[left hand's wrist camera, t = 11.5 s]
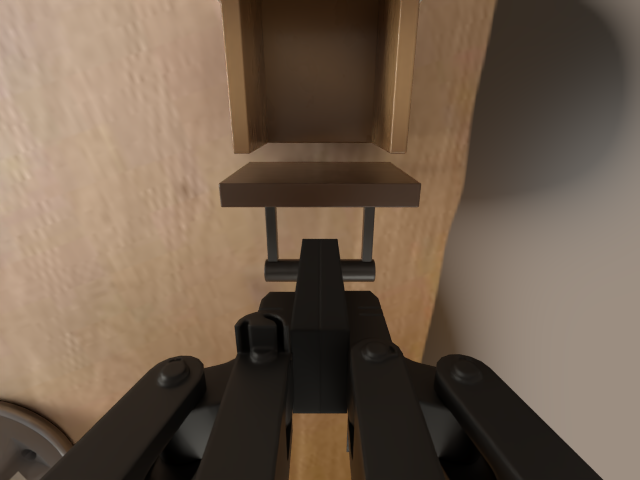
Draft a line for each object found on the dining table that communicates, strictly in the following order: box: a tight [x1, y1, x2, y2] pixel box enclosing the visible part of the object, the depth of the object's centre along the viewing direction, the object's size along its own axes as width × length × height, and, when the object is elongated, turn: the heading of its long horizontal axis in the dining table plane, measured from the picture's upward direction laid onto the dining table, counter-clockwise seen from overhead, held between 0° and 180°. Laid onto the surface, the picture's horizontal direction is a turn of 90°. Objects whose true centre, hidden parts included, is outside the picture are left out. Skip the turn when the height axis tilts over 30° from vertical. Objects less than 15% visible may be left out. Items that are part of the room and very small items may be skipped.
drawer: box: [219, 0, 421, 282], centre depth 19 cm, size 23×10×8 cm, turn 0°
